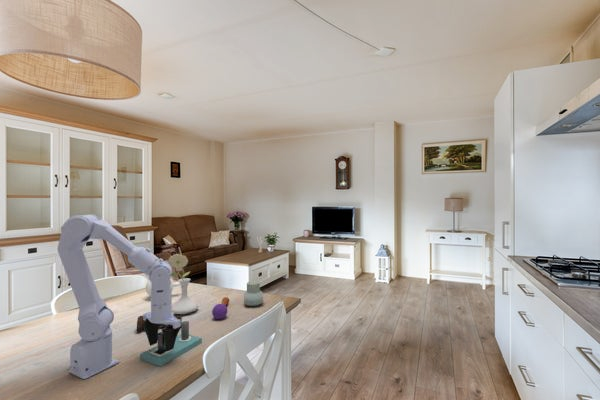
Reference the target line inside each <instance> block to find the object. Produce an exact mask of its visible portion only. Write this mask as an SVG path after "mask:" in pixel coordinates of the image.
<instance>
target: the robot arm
mask: <svg viewBox="0 0 600 400" xmlns="http://www.w3.org/2000/svg"><path fill="white" fill-rule="evenodd" d="M60 232H61V233H60V237H59V240H58V243H57V253H58V255H59V258H60V260H61V263H62V267H63V268H64V270H65V271H64V272H65V274H66V276H67V279H68V283H69V284H70V288H71V289H72V291H73V294H74V297H75V300H76V303H77V305H78V308H79V309H78V315H77V320H78V323H79V324H78V335H79V337H80V338H81V339H80V340H79V341H77V342H75V343H73V344H72V345H71V347H70V352H69V358H70V359H69V361H70V363H69V364H70V365H69V367H70V368H69V370H68V372H69V373H70V374H72V375H74V376H76V377H78V378H80V379H82V380H87V379H88V378H90V377H93V376H95V375H96V374H98V373H100V372H102V371H103V372H104V370H106V369H108V368H110V367H112V366H115V365H116V364H118V363H120V360H118V359H115V358H114V357H113V329H112V328H111V324H112V323H113V321H114V317H115V314H114V312H113V310H112V309H111V308H109V307H108V305H107V303H106V301H105V300H103V299H102V298H101V296H100V293H99V290H98V288H97V285H96V283H95V280H94V277H93V275H92V272H91V269H90V267H89V263H88V261H87V259H86V256H85V254H84V250H83V249H84V247H85V245H86V244H87V243H88V241H89V240H91V239H92V240H104V241H105V242H107V243H108V244H109V245H111V246H113V247H114V248H116V249H117V250H118V251H120V252H121V253H123V254H125V255H126V256H127V261H128V263H129V264H131V265H132V266H133V267H135V268H136V269H137V270H139V271H140V272H141V273H143V274H145V275H147V276H148V280H150V281H151V296H150V311H148V312H145V313H143V314H142V316H143V320H146V321H145V323H142V327H143V331H144V332H145V335H146V338H147V340H148V345H149V346H154V345H155V344H156V345H157V344H158V335H157V334H158V333H159V328H160V326H159V325H160V324H164V325H168V327H166V326H165V327H164V328H162V329H161V332H163V335H164V338H165V345H166V350H167V351H170V350H172V349H174V345H175V341H176V337H177V336H178V335H179V334H180V332H181V327H182V325H181V323H182V322H181V320H179V319H177V318H176V317H174V315H175V313H172V312H171V307H172V295H171V279H172V278H171V277H172V276H171V273H172V272H173V267H172V266H170V264H169V263H168V261H164V259H163V258H161V257H160V258H159V257H157V256H156V255H155V254H154V253H153V252H151V250H152V249H151V248H149V247H144V246H136V245H135V244H133V242H131V241H130V240H128V239H127V238H126V236H124V235H122V234H121V233H120V232H119V231H118V230H117V229H115V228H114V227H113V226H112V225H111V224H110V223H108V222H107V221H106V220H104V219H101V218H100V217H99V216H98V215H96V214H93V213H87V214H83V215H79V214H77V215H76V214H75V215H72V216H71V217H69V218H68V219H67V220H66V221H65V222H64V223H63V225H62V226H60Z"/></svg>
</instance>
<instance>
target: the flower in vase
mask: <svg viewBox="0 0 600 400" xmlns="http://www.w3.org/2000/svg"><path fill="white" fill-rule="evenodd" d="M187 257H188V256H186V255H183V254H182V253H180V254H179V253H174V254H173V255H171V256H170V257H169V258H168V260H167V262H168V263H169V264H170V266H171V268H175V269H177V272H174V271H172V273H171V277H172V278H173V277H174V278H176V277H178V276H179V277H180V279H179V278H178V280H177V282H179V283H180V284H181V285H180V288H181V295H180V298H179V299H177V301H175V303H174V304H173V305H172V304H171V312H172V313H174V315H175V314H176V315H186V314H190V313H193V312H195V311H197V310H198V308H199V304H198V303H197V302H196V301H195V300H193V299H192V298H190V297H189V296H188V285H189V283H190V281H191V278H188V277H186V276H188V275H189V274H190V273H191V270H190V271H187V272H185V273H184V274H183V275H181V274H180V272H179V269H181V268H184V267H186V266H187V264H188V263H189V259H188V258H187ZM184 277H185V278H184Z"/></svg>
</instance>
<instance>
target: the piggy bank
mask: <svg viewBox="0 0 600 400" xmlns="http://www.w3.org/2000/svg"><path fill="white" fill-rule="evenodd" d="M179 286H180V287H181V284H180V283H179V281H177V282H174V280H173V279H172V278H171V296H172V293H173V290H174V287H175V288H177V287H179ZM145 292H146V294H147V296H149V297H151V281H150V280H149V279H147V282H146V285H145Z"/></svg>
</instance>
